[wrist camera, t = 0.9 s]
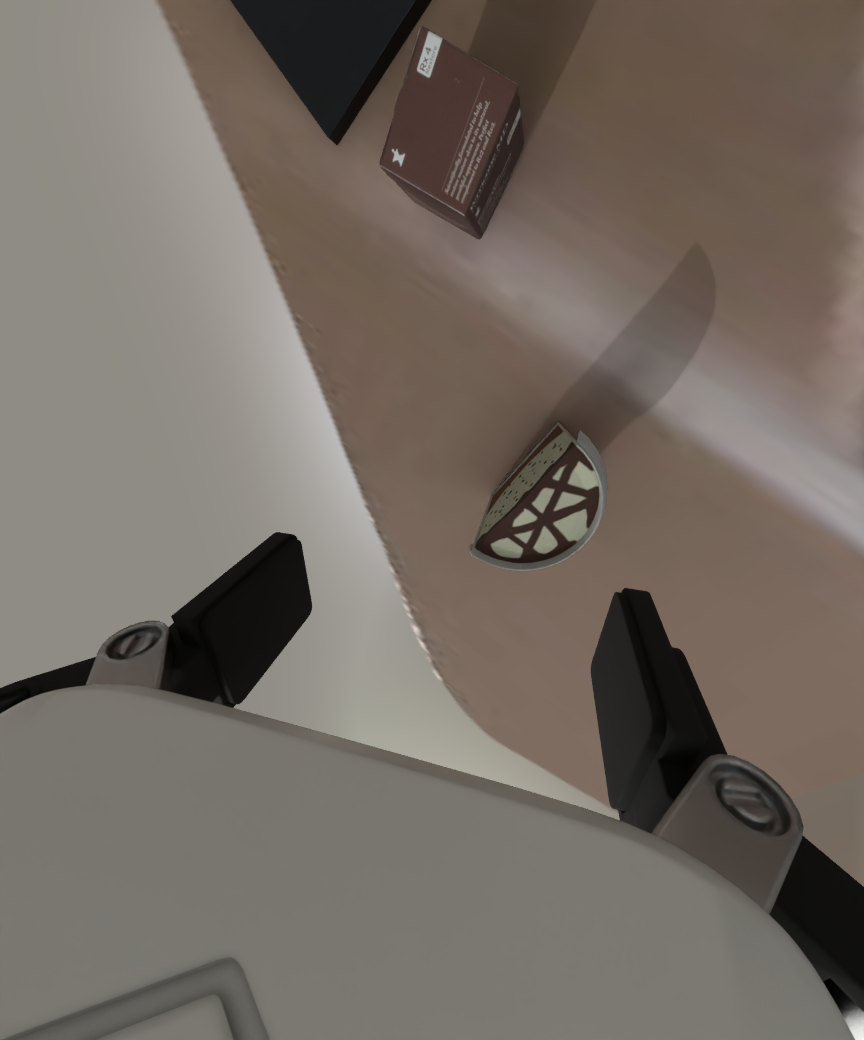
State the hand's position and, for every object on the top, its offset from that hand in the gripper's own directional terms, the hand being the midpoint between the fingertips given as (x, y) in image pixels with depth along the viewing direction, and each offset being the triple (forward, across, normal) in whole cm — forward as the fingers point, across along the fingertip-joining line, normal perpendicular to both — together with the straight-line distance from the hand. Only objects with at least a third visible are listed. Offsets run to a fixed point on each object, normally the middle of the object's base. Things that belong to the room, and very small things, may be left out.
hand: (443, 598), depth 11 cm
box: (+26, +5, -16) cm, 32 cm away
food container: (+26, -4, +6) cm, 27 cm away
